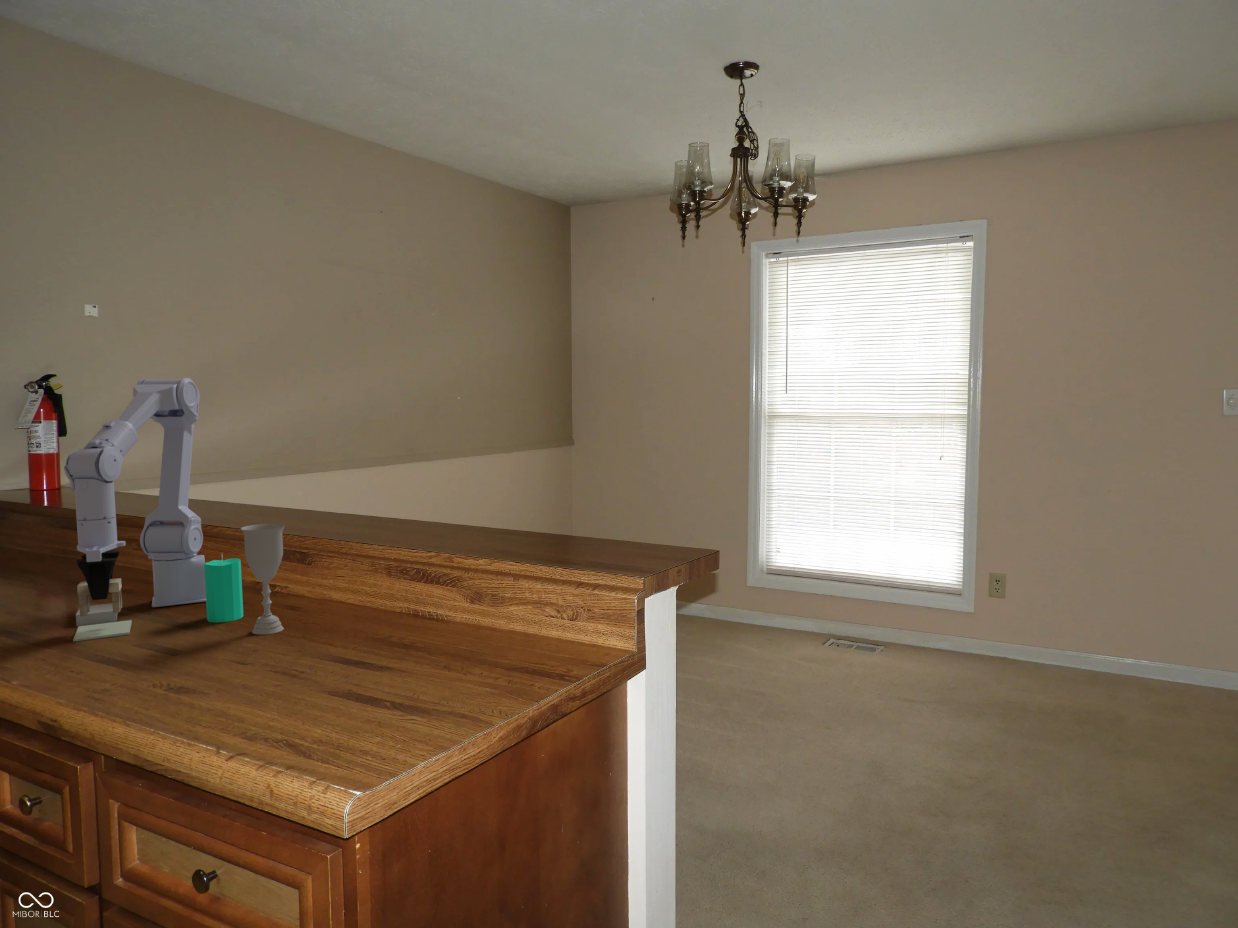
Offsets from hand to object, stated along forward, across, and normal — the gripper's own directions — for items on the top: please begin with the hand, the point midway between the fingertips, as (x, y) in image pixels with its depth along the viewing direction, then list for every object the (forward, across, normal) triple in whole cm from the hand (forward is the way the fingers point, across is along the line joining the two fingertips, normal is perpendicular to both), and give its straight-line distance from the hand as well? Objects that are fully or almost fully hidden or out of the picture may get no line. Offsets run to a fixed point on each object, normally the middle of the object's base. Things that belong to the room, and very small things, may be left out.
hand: (101, 596), depth 142 cm
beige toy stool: (+3, 0, 0) cm, 3 cm away
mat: (+6, 0, 0) cm, 6 cm away
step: (+6, +10, +2) cm, 12 cm away
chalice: (+6, -13, -25) cm, 29 cm away
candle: (+6, 0, -19) cm, 20 cm away
